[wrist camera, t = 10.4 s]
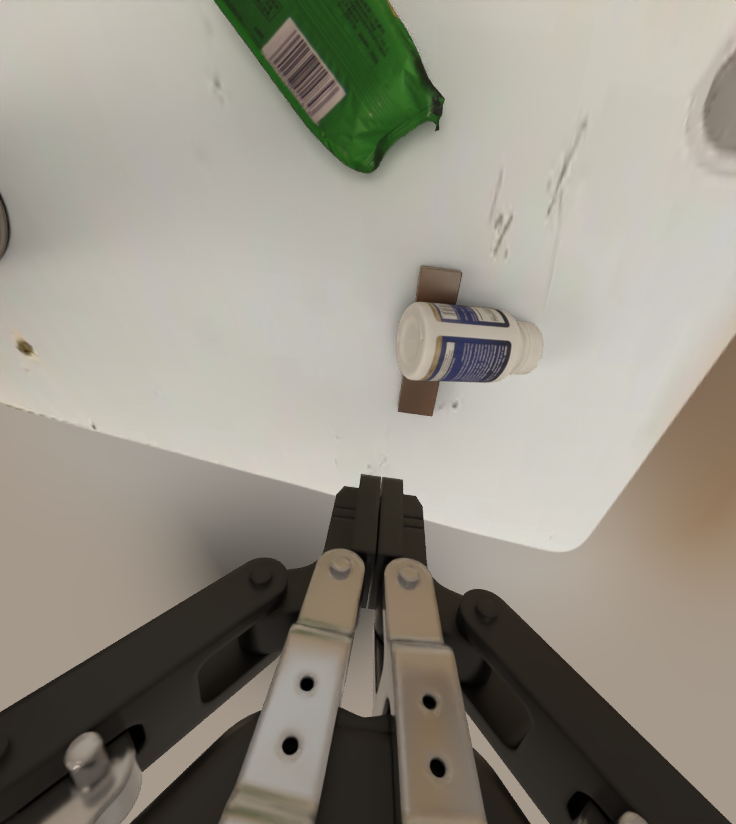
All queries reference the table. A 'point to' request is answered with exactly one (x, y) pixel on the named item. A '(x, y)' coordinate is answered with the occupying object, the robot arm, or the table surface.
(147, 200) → the table surface
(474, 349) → the pill bottle
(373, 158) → the snack package
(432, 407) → the bar
